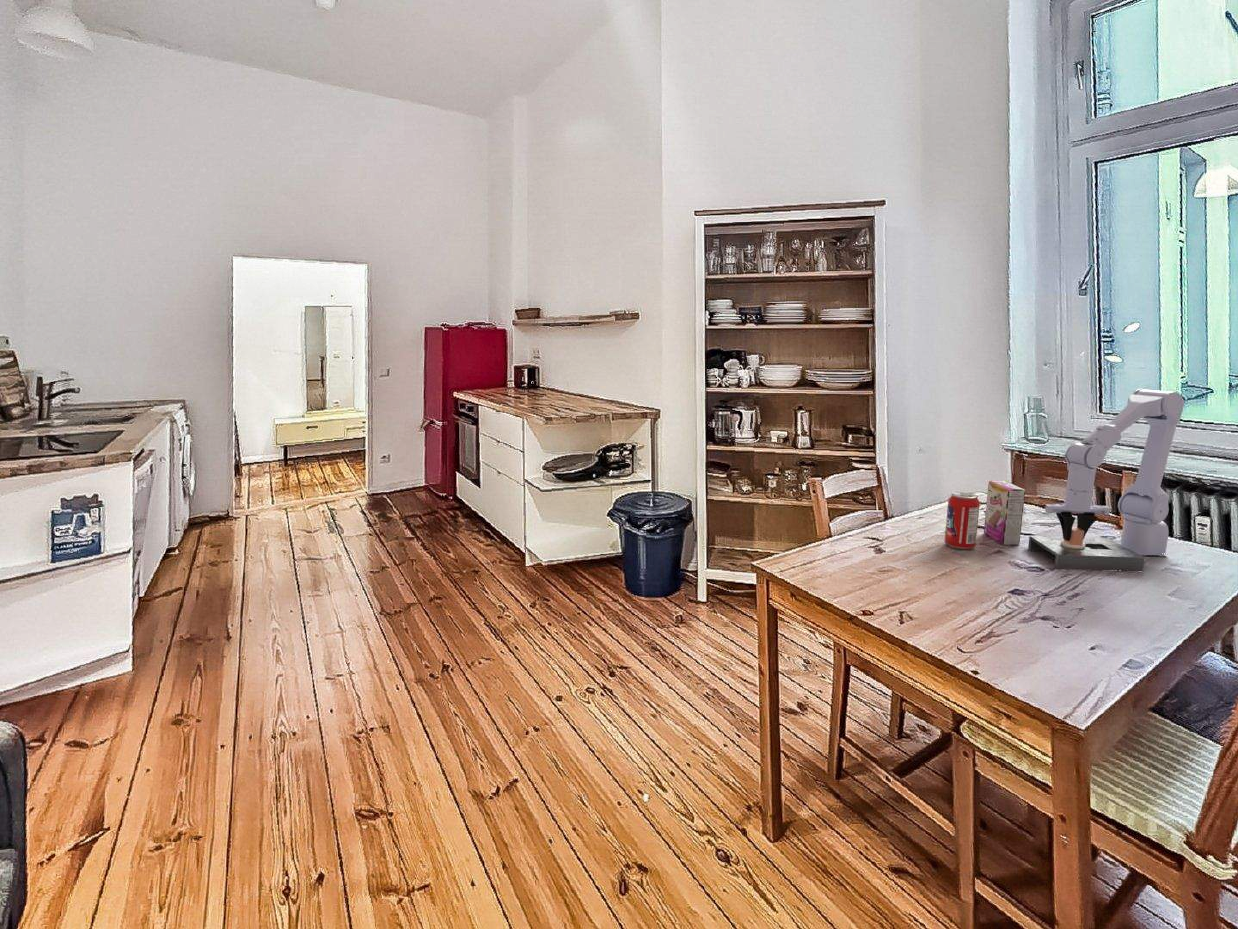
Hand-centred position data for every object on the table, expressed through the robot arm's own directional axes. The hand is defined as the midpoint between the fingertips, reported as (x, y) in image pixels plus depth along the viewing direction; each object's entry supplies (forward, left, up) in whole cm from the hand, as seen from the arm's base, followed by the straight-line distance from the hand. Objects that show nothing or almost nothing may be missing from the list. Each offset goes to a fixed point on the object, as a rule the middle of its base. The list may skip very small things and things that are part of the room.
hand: (1072, 539), depth 176 cm
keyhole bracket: (-3, 0, -5) cm, 6 cm away
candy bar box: (+11, -16, -6) cm, 20 cm away
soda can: (+25, -8, -6) cm, 27 cm away
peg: (0, 0, -4) cm, 4 cm away
